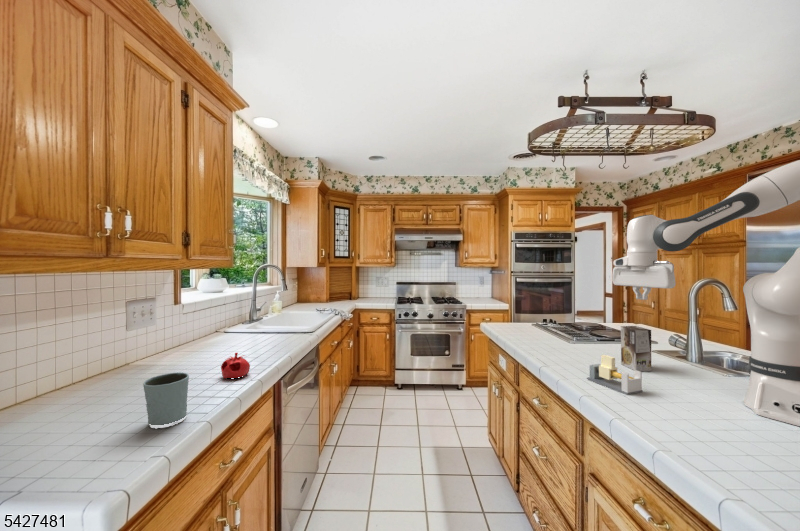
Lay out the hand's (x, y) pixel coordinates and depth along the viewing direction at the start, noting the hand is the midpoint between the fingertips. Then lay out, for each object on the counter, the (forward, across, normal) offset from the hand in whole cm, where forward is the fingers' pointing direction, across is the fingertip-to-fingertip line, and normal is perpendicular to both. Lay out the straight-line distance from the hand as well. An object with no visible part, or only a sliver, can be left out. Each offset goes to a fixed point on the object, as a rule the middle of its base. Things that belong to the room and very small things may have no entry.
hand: (641, 299), depth 118 cm
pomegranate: (+30, +55, +140) cm, 153 cm away
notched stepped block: (+27, +2, +14) cm, 30 cm away
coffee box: (+29, +11, -12) cm, 34 cm away
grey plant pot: (+30, +21, +152) cm, 156 cm away
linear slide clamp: (+29, 0, +14) cm, 32 cm away
